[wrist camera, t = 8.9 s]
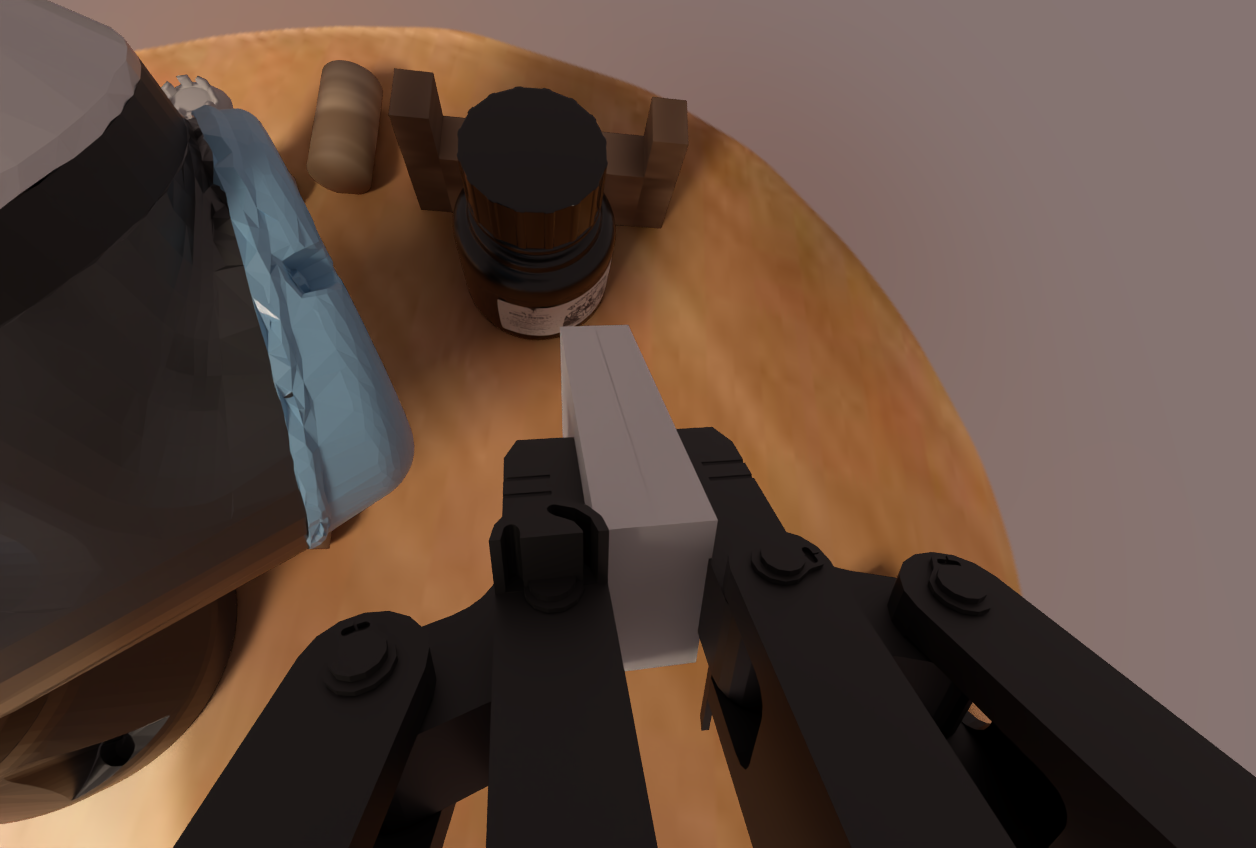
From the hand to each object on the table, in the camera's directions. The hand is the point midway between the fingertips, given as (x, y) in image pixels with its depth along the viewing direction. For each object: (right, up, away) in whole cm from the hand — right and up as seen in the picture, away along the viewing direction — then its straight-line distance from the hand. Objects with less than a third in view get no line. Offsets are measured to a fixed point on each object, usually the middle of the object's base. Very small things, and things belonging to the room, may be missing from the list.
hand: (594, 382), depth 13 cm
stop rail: (-5, +14, +26) cm, 30 cm away
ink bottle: (-5, +8, +24) cm, 26 cm away
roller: (-17, +17, +25) cm, 35 cm away
